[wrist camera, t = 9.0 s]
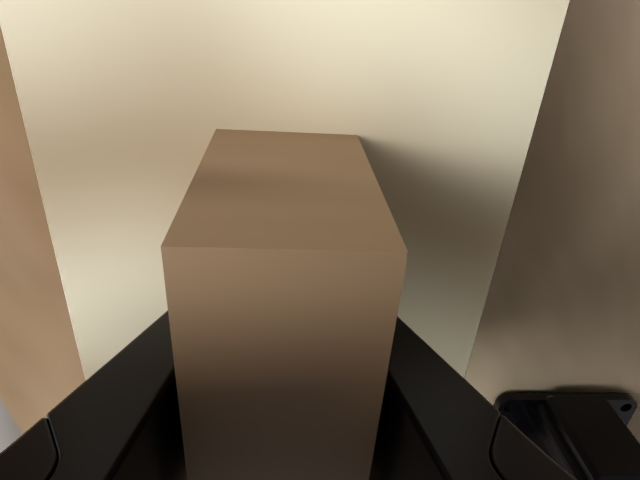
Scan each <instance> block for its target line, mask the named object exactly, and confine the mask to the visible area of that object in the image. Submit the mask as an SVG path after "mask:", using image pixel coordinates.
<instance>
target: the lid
mask: <svg viewBox="0 0 640 480" xmlns="http://www.w3.org/2000/svg"><path fill="white" fill-rule="evenodd" d="M569 1H570V0H0V25H1V29H2V33H3V37H4V41H5V46H6V50H7V54H8V58H9V62H10V67H11V71H12V75H13V79H14V83H15V88H16V92H17V96H18V100H19V104H20V109H21V113H22V117H23V121H24V125H25V130H26V134H27V138H28V142H29V146H30V151H31V155H32V159H33V163H34V167H35V172H36V176H37V180H38V184H39V188H40V192H41V197H42V201H43V205H44V209H45V213H46V218H47V222H48V226H49V230H50V234H51V239H52V243H53V247H54V251H55V255H56V260H57V264H58V268H59V272H60V276H61V281H62V285H63V289H64V293H65V297H66V302H67V306H68V310H69V314H70V318H71V323H72V327H73V331H74V335H75V339H76V344H77V348H78V352H79V356H80V360H81V365H82V369H83V373H84V377H85V381H86V380H87V379H88V378H89V377H91V376H92V375H93V374H94V373H95V372H96V371H98V370H99V369H100V368H101V367H102V366H103V365H105V364H106V363H107V362H108V361H109V360H110V359H112V358H113V357H114V356H115V355H116V354H117V353H119V352H120V351H121V350H122V349H123V348H124V347H125V346H127V345H128V344H129V343H130V342H131V341H132V340H134V339H135V338H136V337H137V336H138V335H139V334H141V333H142V332H143V331H144V330H145V329H146V328H148V327H149V326H150V325H151V324H152V323H153V322H155V321H156V320H157V319H158V318H159V317H160V316H162V315H163V314H164V313H165V312H166V311H167V310H168V315H169V324H170V333H171V341H172V350H173V359H174V368H175V376H176V385H177V394H178V403H179V411H180V420H181V429H182V438H183V447H184V455H185V464H186V473H187V480H369V476H370V470H371V464H372V458H373V453H374V447H375V441H376V435H377V430H378V424H379V418H380V412H381V406H382V401H383V395H384V389H385V383H386V378H387V372H388V366H389V360H390V355H391V349H392V343H393V337H394V331H395V326H396V320H397V316H398V317H399V318H400V319H401V320H402V321H403V322H404V323H405V324H406V325H407V326H409V327H410V328H411V329H412V330H413V331H414V332H415V333H416V334H417V335H418V336H419V337H420V338H421V339H422V340H423V341H425V342H426V343H427V344H428V345H429V346H430V347H431V348H432V349H433V350H434V351H435V352H436V353H437V354H438V355H439V356H441V357H442V358H443V359H444V360H445V361H446V362H447V363H448V364H449V365H450V366H451V367H452V368H453V369H454V370H456V371H457V372H458V373H459V374H460V375H461V376H462V377H463V378H464V377H465V373H466V370H467V366H468V363H469V359H470V355H471V352H472V348H473V345H474V341H475V338H476V334H477V330H478V327H479V323H480V320H481V316H482V313H483V309H484V305H485V302H486V298H487V295H488V291H489V287H490V284H491V280H492V277H493V273H494V270H495V266H496V262H497V259H498V255H499V252H500V248H501V245H502V241H503V237H504V234H505V230H506V227H507V223H508V219H509V216H510V212H511V209H512V205H513V202H514V198H515V194H516V191H517V187H518V184H519V180H520V177H521V173H522V169H523V166H524V162H525V159H526V155H527V151H528V148H529V144H530V141H531V137H532V134H533V130H534V126H535V123H536V119H537V116H538V112H539V109H540V105H541V101H542V98H543V94H544V91H545V87H546V83H547V80H548V76H549V73H550V69H551V66H552V62H553V58H554V55H555V51H556V48H557V44H558V41H559V37H560V33H561V30H562V26H563V23H564V19H565V15H566V12H567V8H568V5H569Z"/></svg>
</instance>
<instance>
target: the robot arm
mask: <svg viewBox="0 0 640 480" xmlns="http://www.w3.org/2000/svg"><path fill="white" fill-rule="evenodd" d="M636 408H637V402H636V401H635V400H634V399H633V397H632V396H631V395H630V394H627V393H506V394H503V395H500V396H499V397H498V398H497V399H496V401H495V404H494V406H493V405H492V404H491V403H490V402H489V401H488V400H486V399H485V398H484V397H483V396H482V395H481V394H480V393H479V392H478V391H477V390H476V389H475V388H474V387H473V386H472V385H470V384H469V383H468V382H467V381H466V380H465V379H464V378H463V377H462V376H461V375H460V374H459V373H458V372H457V371H456V370H454V369H453V368H452V367H451V366H450V365H449V364H448V363H447V362H446V361H445V360H444V359H443V358H442V357H441V356H439V355H438V354H437V353H436V352H435V351H434V350H433V349H432V348H431V347H430V346H429V345H428V344H427V343H426V342H425V341H423V340H422V339H421V338H420V337H419V336H418V335H417V334H416V333H415V332H414V331H413V330H412V329H411V328H410V327H409V326H407V325H406V324H405V323H404V322H403V321H402V320H401V319H400V318H399V317H398V316H397V320H396V326H395V331H394V337H393V343H392V349H391V355H390V360H389V366H388V372H387V378H386V383H385V389H384V395H383V401H382V406H381V412H380V418H379V424H378V430H377V435H376V441H375V447H374V453H373V458H372V464H371V470H370V476H369V480H640V443H639V442H638V441H637V439H636V438H635V437H634V435H633V434H632V433H631V431H630V430H629V429H628V427H627V424H628V422H629V420H630V419H631V417H632V415H633V413H634V411H635V409H636ZM0 480H187V473H186V464H185V455H184V447H183V438H182V429H181V420H180V411H179V403H178V394H177V385H176V376H175V368H174V359H173V350H172V341H171V333H170V324H169V315H168V310H167V311H166V312H165V313H164V314H163V315H162V316H160V317H159V318H158V319H157V320H156V321H155V322H153V323H152V324H151V325H150V326H149V327H148V328H146V329H145V330H144V331H143V332H142V333H141V334H139V335H138V336H137V337H136V338H135V339H134V340H132V341H131V342H130V343H129V344H128V345H127V346H125V347H124V348H123V349H122V350H121V351H120V352H119V353H117V354H116V355H115V356H114V357H113V358H112V359H110V360H109V361H108V362H107V363H106V364H105V365H103V366H102V367H101V368H100V369H99V370H98V371H96V372H95V373H94V374H93V375H92V376H91V377H89V378H88V379H87V380H86V381H85V382H84V383H82V384H81V385H80V386H79V387H78V388H77V389H75V390H74V391H73V392H72V393H71V394H70V395H69V396H67V397H66V398H65V399H64V400H63V401H62V402H60V403H59V404H58V405H57V406H56V407H55V408H53V409H52V410H51V411H50V412H49V413H48V414H47V418H42V419H40V420H39V421H38V422H37V423H36V424H34V425H33V426H32V427H31V428H30V429H29V430H28V431H26V432H25V433H24V434H23V435H22V436H21V437H19V438H18V439H17V440H16V441H14V442H13V443H12V444H11V445H10V446H8V447H7V448H6V449H5V450H3V451H2V452H1V453H0Z"/></svg>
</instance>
